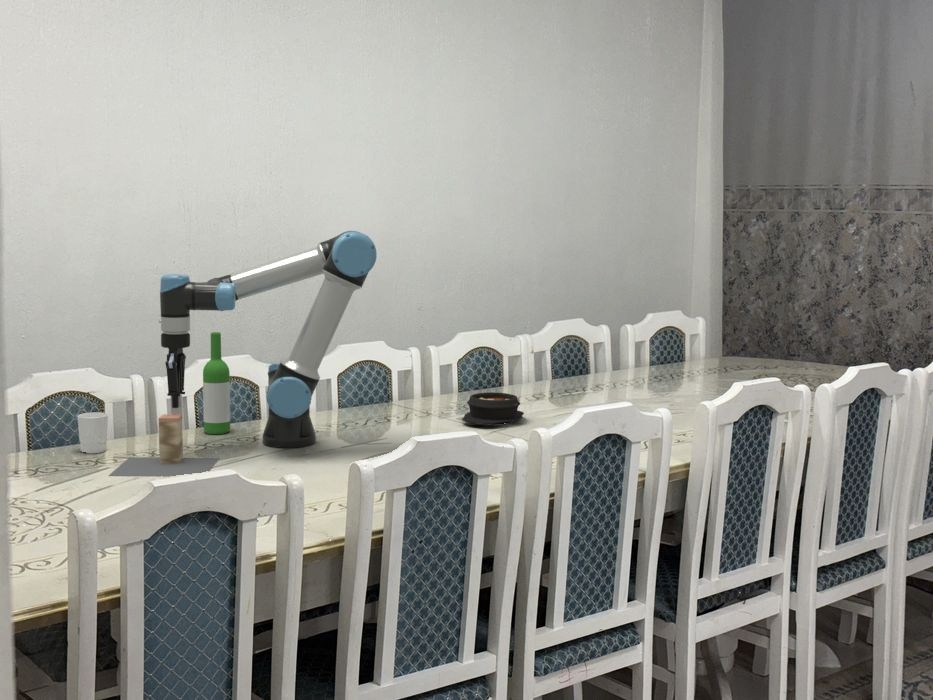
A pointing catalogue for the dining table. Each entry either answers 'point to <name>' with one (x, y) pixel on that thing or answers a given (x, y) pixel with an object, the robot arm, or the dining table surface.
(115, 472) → the mat
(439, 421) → the dining table surface
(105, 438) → the white cup
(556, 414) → the dining table surface
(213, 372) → the wine bottle
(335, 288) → the robot arm
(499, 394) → the casserole
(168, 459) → the maple block
